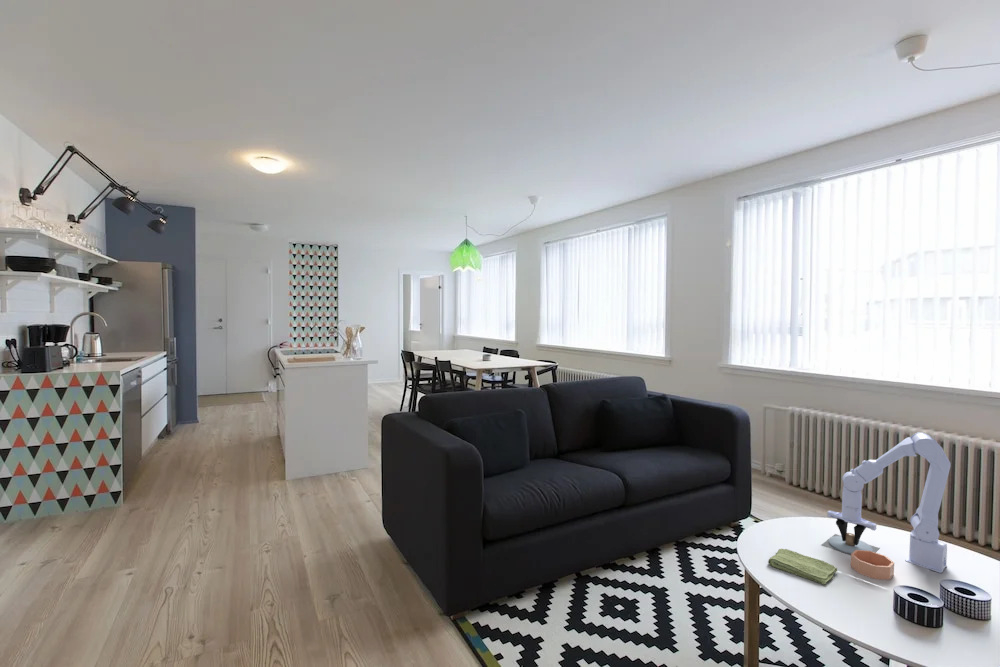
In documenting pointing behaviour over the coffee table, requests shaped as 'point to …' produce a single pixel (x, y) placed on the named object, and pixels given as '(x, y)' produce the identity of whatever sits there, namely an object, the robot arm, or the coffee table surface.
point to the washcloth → (802, 566)
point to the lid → (848, 544)
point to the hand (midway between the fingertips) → (850, 542)
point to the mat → (844, 552)
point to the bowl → (872, 564)
